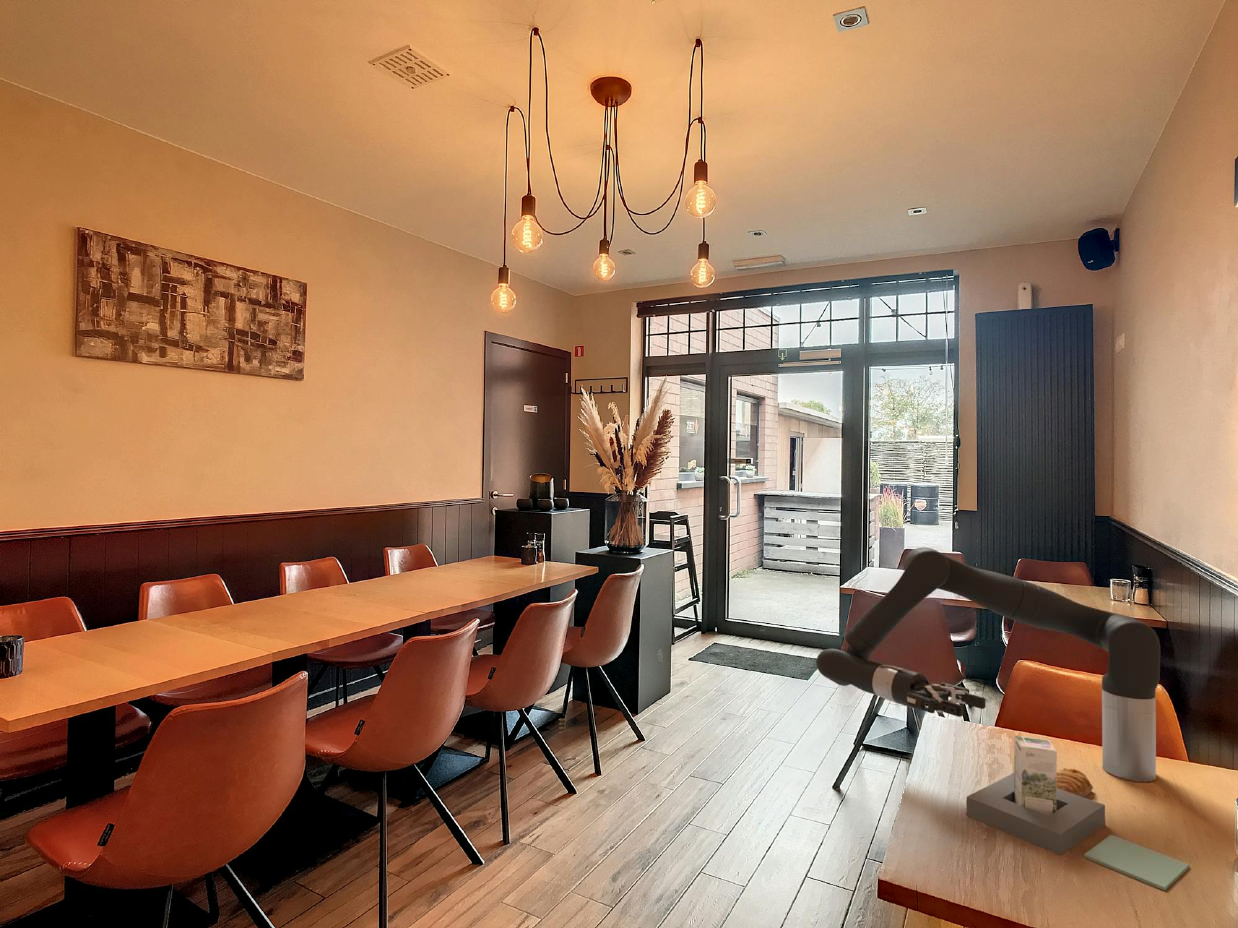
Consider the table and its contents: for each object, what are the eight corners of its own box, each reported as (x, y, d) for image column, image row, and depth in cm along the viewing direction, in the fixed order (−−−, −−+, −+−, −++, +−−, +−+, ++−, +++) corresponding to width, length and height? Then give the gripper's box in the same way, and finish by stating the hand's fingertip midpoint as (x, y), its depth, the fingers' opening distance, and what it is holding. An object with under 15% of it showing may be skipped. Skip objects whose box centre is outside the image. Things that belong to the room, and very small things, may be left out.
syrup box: (1048, 814, 128) (1048, 737, 128) (1057, 830, 122) (1056, 749, 122) (1014, 809, 129) (1013, 733, 130) (1021, 824, 124) (1020, 745, 124)
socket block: (1013, 790, 137) (1013, 772, 137) (1105, 823, 124) (1104, 804, 124) (966, 815, 127) (966, 796, 127) (1060, 854, 114) (1060, 833, 114)
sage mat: (1110, 837, 120) (1110, 834, 120) (1189, 867, 111) (1189, 864, 111) (1084, 857, 113) (1083, 854, 113) (1164, 890, 104) (1164, 887, 104)
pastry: (1079, 806, 131) (1079, 786, 131) (1040, 794, 136) (1040, 774, 136) (1094, 791, 137) (1094, 772, 137) (1056, 780, 142) (1056, 762, 143)
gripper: (880, 673, 145) (954, 694, 131) (918, 663, 153) (992, 682, 139) (880, 708, 144) (954, 733, 131) (918, 697, 153) (991, 719, 139)
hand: (973, 707), depth 135 cm, fingers open, 8 cm apart
